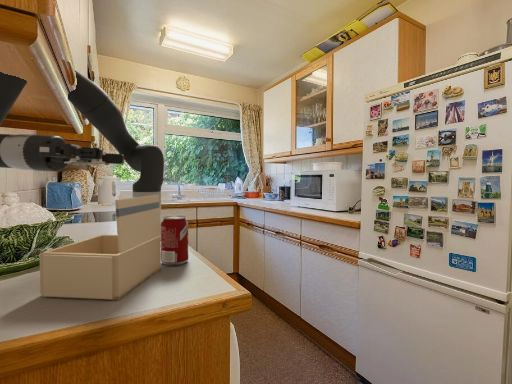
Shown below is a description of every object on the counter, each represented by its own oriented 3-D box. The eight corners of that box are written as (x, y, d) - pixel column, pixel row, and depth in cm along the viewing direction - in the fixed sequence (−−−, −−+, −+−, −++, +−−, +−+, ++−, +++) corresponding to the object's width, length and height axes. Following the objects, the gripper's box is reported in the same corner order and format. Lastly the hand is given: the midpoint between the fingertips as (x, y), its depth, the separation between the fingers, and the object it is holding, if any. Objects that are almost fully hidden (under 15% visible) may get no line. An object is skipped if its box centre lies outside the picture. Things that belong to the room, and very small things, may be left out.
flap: (158, 235, 64) (156, 195, 64) (160, 235, 64) (158, 195, 64) (118, 253, 48) (115, 199, 48) (121, 253, 48) (117, 199, 48)
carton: (101, 266, 67) (100, 234, 67) (161, 268, 66) (161, 235, 65) (35, 297, 49) (34, 253, 49) (117, 301, 48) (116, 256, 47)
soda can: (174, 268, 66) (174, 219, 65) (155, 264, 69) (154, 217, 68) (193, 261, 72) (193, 216, 71) (175, 257, 75) (174, 214, 74)
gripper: (6, 126, 50) (94, 131, 50) (61, 141, 64) (130, 144, 64) (4, 167, 50) (91, 172, 50) (60, 172, 64) (128, 176, 64)
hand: (113, 156), depth 57 cm, fingers open, 8 cm apart
